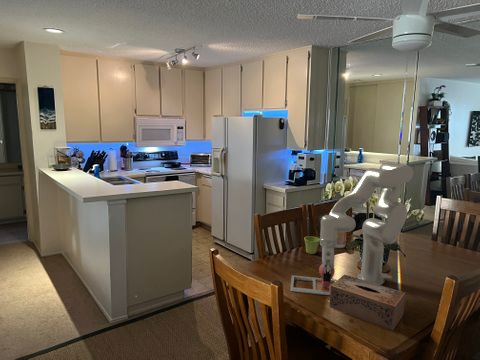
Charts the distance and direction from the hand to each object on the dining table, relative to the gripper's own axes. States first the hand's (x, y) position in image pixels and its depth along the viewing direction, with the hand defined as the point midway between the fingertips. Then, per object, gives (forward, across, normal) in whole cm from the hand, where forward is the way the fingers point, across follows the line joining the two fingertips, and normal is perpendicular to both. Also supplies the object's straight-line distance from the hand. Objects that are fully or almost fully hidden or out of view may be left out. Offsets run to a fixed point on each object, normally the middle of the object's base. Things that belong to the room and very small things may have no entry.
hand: (326, 276), depth 162 cm
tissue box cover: (+6, -17, -16) cm, 24 cm away
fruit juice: (+6, +62, -11) cm, 63 cm away
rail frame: (+6, 0, +5) cm, 8 cm away
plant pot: (+6, +46, +6) cm, 47 cm away
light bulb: (+6, 0, 0) cm, 6 cm away
